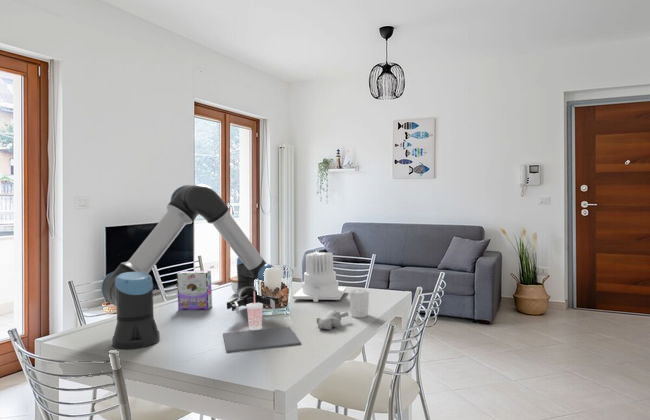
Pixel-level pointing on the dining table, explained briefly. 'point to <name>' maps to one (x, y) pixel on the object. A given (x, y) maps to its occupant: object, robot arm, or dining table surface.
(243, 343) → the mat
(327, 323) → the bunny figurine
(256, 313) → the beverage cup
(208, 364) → the dining table surface
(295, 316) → the dining table surface
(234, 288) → the lidded jar
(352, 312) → the white cup
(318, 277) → the white finned lamp
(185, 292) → the candy box
